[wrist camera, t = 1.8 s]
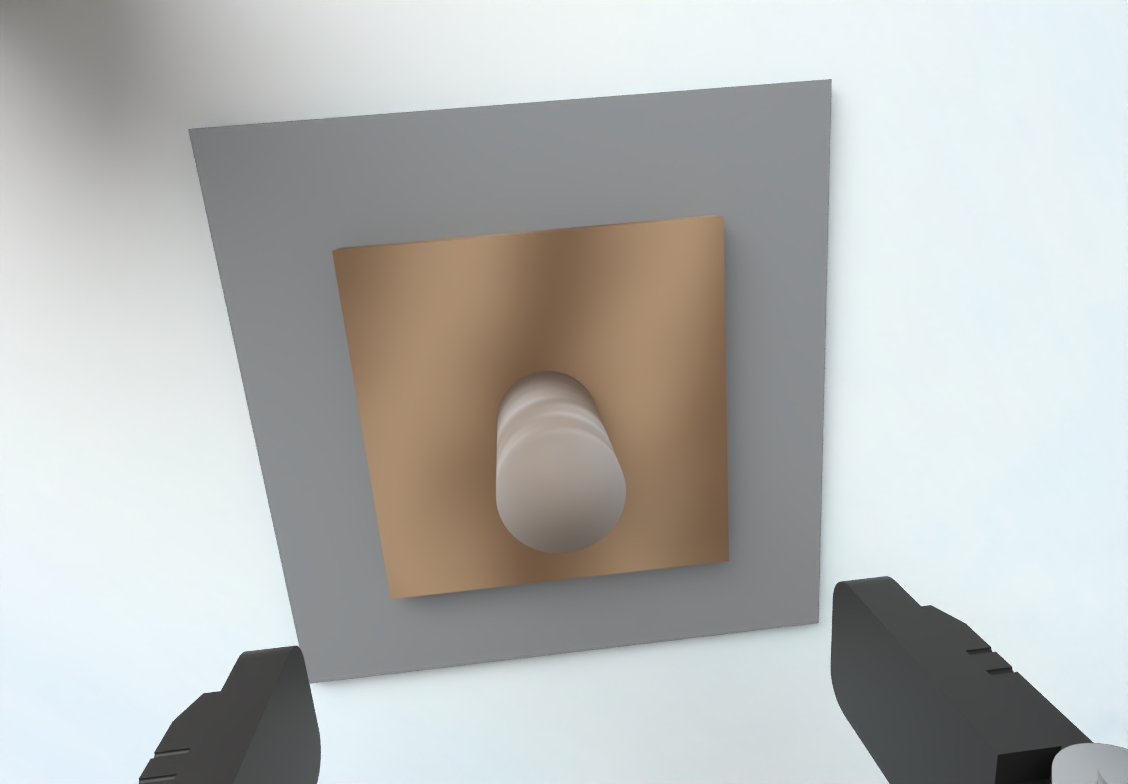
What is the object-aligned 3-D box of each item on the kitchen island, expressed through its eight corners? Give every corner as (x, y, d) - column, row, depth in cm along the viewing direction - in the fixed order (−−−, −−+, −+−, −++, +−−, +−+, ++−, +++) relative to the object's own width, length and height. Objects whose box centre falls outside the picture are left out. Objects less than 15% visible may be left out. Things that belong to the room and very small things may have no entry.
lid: (713, 214, 22) (798, 230, 16) (720, 546, 25) (792, 669, 19) (339, 247, 21) (271, 277, 15) (395, 582, 24) (358, 721, 18)
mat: (824, 81, 21) (831, 79, 21) (812, 614, 27) (818, 622, 26) (195, 130, 20) (188, 129, 20) (310, 674, 26) (307, 683, 25)
